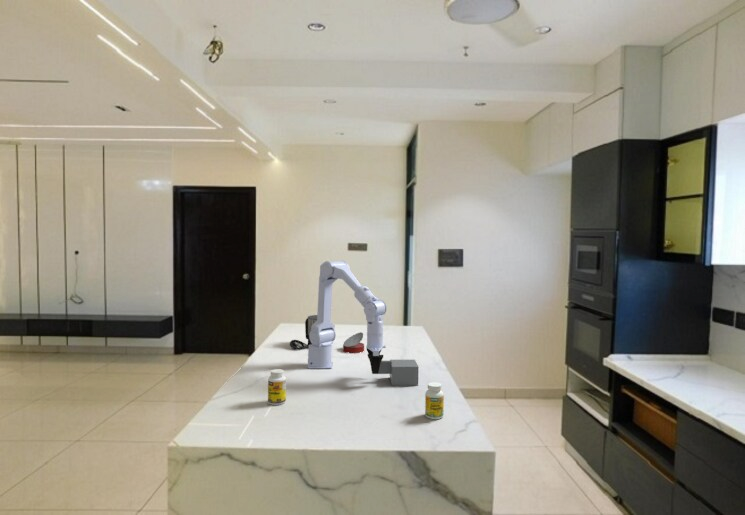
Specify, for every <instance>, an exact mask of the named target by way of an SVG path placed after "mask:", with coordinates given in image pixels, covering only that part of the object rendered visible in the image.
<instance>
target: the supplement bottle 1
mask: <svg viewBox="0 0 745 515" xmlns="http://www.w3.org/2000/svg"><path fill="white" fill-rule="evenodd" d="M286 401H287V377H286V376H285V375H284V369H280V368H274V369H271V370H270V376H269V377H268V378H267V402H268V404H269V405H271V406H279V405H283V404H285V403H286Z"/></svg>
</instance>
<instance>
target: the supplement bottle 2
mask: <svg viewBox="0 0 745 515" xmlns="http://www.w3.org/2000/svg"><path fill="white" fill-rule="evenodd" d="M424 395H425V396H424V397H425V401H424V402H425V403H424V404H425V406H424V407H425V411H424V412H425V414H424V415H425V417H427V419H430V420H440V418H441V419H443V418H444V403H445V402H444V399H445V398H444V396H445V395H444V392H443V391H442V383H441V382H435V381H434V382H428V383H427V390H426V391H425V394H424Z"/></svg>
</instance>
